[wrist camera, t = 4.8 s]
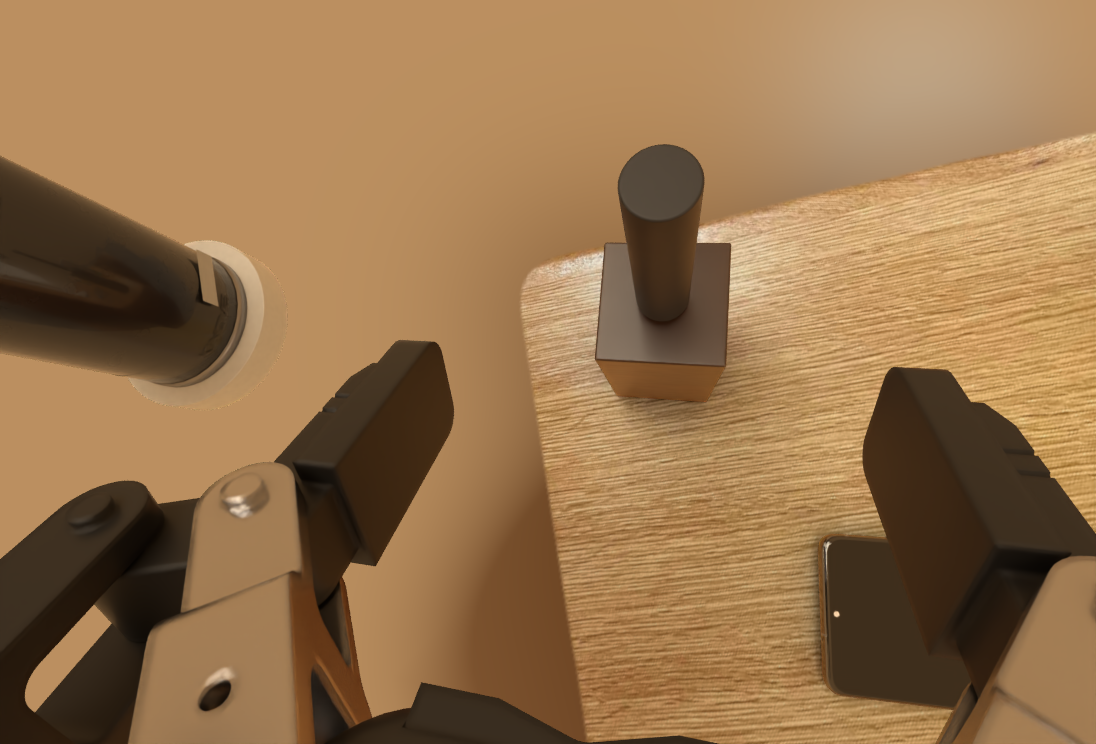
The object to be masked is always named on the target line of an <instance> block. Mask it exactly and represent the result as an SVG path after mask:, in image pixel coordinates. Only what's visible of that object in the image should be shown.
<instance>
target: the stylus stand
mask: <svg viewBox="0 0 1096 744" xmlns="http://www.w3.org/2000/svg"><path fill="white" fill-rule="evenodd" d="M730 262H731V244H730V243H696V251H695V259H694V266H693V274H692V281H691V289H690V297H689V302H688V305H687V307H686V309H685V310H684V311H683V313H682V314H680V315H679V316H678V317H676V318H674V319H672V320H669V321H655V320H652V319H650V318H648V317H646V316H645V315H644V314H643V313H642V312H641V311H640V309H639V307H638V305H637V302H636V296H635V290H634V284H633V278H632V272H631V266H630V260H629V254H628V248H627V243H605V246H604V258H603V270H602V281H601V293H600V305H599V317H598V328H597V340H596V352H595V360H596V362H597V363H598V365H599V367H600V368H601V370H602V372H603V373H604V375H605V377H606V378H607V380H608V382H609V383H610V385H611V387H612V388H613V390H614V392H615V393H616V395H617V396H622V397H637V398H651V399H666V400H681V401H695V402H707V400H708V398H709V396H710V394H711V393H712V391H713V389H714V387H715V385H716V383H717V381H718V380H719V378H720V376H721V374H722V372H723V370H724V369H725V367H726V356H727V332H728V309H729V286H730Z"/></svg>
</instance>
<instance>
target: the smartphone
mask: <svg viewBox="0 0 1096 744" xmlns="http://www.w3.org/2000/svg"><path fill="white" fill-rule="evenodd" d="M818 567H819V596H820V624H821V652H822V674H823V679H824V682H825V684H826V686H827V687H828V688H829V689H830V690H831V691H832V692H834V693H835V694H837V695H840V696H846V697H854V698H862V699H870V700H878V701H886V702H894V703H902V704H910V705H918V706H926V707H934V708H942V709H950V710H954V708H955V706H956V704H957V702H958V700H959V698H960V697H961V695H962V693H963V691H964V690H965V688H966V687H967V685H968V684H969V683H970V681H971V679H970V676H969V674H968V671H967V669H966V666H965V664H964V661H959V660H953V659H946V658H940V657H934V656H928V653H927V650H926V647H925V645H924V642H923V639H922V636H921V633H920V630H919V628H918V625H917V622H916V619H915V616H914V613H913V610H912V608H911V605H910V602H909V599H908V596H907V593H906V590H905V588H904V585H903V582H902V579H901V576H900V573H899V570H898V568H897V565H896V562H895V559H894V556H893V553H892V551H891V548H890V545H889V542H888V539H887V537H871V536H857V535H843V534H829V535H826V536H824V537H823V538H822V539H821V540H820V542H819V545H818Z"/></svg>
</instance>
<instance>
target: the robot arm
mask: <svg viewBox="0 0 1096 744" xmlns="http://www.w3.org/2000/svg"><path fill="white" fill-rule="evenodd" d="M246 317H247V300H246V294H245V290H244V287H243V284H242V282H241V280H240V278H239V277H238V275H237V274H236V273H235V271H234V270H233V269H232V268H231V267H229V266H228V265H227V264H225V263H224V262H222V261H220V260H218V259H216V258H214V257H211V256H209V255H207V254H205V253H203V252H201V251H199V250H197V249H196V250H194V249H192V248H189V247H187V246H185V245H183V244H181V243H179V242H177V241H175V240H174V239H172V238H170V237H167V236H165V235H163V234H161V233H159V232H157V231H155V230H153V229H151V228H149V227H147V226H145V225H143V224H140V223H138V222H136V221H134V220H132V219H130V218H128V217H126V216H124V215H122V214H120V213H118V212H116V211H114V210H111V209H109V208H107V207H105V206H103V205H101V204H99V203H97V202H95V201H93V200H91V199H89V198H87V197H85V196H83V195H80V194H78V193H76V192H74V191H72V190H70V189H68V188H66V187H64V186H62V185H60V184H58V183H55V182H53V181H51V180H49V179H47V178H45V177H43V176H41V175H39V174H37V173H35V172H33V171H31V170H29V169H27V168H25V167H22V166H20V165H18V164H16V163H14V162H12V161H10V160H8V159H6V158H4V157H2V156H0V353H2V354H6V355H12V356H17V357H22V358H28V359H34V360H39V361H44V362H50V363H55V364H60V365H66V366H71V367H76V368H81V369H87V370H92V371H97V372H103V373H108V374H113V375H117V376H123V377H128V378H133V379H139V380H144V381H149V382H152V383H154V384H158V385H163V386H168V387H187V386H191V385H194V384H197V383H200V382H202V381H204V380H206V379H207V378H209V377H210V376H212V375H213V374H215V373H216V372H217V371H218V370H219V369H220V368H221V367H222V366H223V365H224V364H225V363H226V362H227V361H228V360H229V358H230V357H231V356H232V354H233V353H234V351H235V349H236V348H237V346H238V344H239V342H240V339H241V337H242V334H243V331H244V328H245V323H246ZM453 417H454V406H453V401H452V396H451V391H450V387H449V382H448V378H447V373H446V369H445V364H444V360H443V355H442V351H441V349H440V347H439V345H438V344H437V343H436V342H427V341H408V340H399V341H397V342H395V343H394V344H393V345H392V346H391V348H390V349H389V350H388V351H387V352H386V353H385V355H384V356H383V357H382V358H381V359H380V361H379V362H378V363H372V364H370V365H369V366H367V367H366V368H364V369H363V370H361V371H359V372H358V373H356V374H354V375H353V376H351V377H350V378H349V379H348V380H347V381H346V382H345V384H344V385H343V386H342V387H341V388H340V389H339V390H338V391H337V392H336V394H335V398H333V397H332V398H331V399H330V400H329V402H327V404H326V405H325V406H324V407H323V411H322V412H318V414H317V415H316V416H315V417H314V418H313V419H312V421H310V422H309V424H308V425H307V426H306V427H305V428H304V429H303V430H302V431H301V433H300V434H299V435H298V436H297V437H296V438H295V439H294V440H293V441H292V442H291V444H290V445H289V446H288V447H287V448H286V449H285V450H284V451H283V452H282V454H281V455H280V456H279V457H278V458H277V459H276V460H275V461H274V462H263V463H256V464H252V465H248V466H245V467H242V468H240V469H237V470H235V471H233V472H231V473H229V474H228V475H225V476H224V477H222V478H221V479H219V480H218V481H216V482H215V483H214V484H213V485H211V486H210V487H209V488H208V489H207V490H206V491H205V493H203V495H202V496H201V497H200V498H197V499H190V500H183V501H176V502H170V503H162V504H157V502H156V501H155V499H154V498H153V496H152V495H151V494H150V492H149V491H148V489H147V488H146V486H144V485H143V484H142V483H139V482H135V481H119V482H114V483H110V484H106V485H102V486H99V487H97V488H94V489H92V490H89V491H87V492H85V493H83V494H81V495H79V496H78V497H76V498H74V499H73V500H71V501H69V502H68V503H66V504H65V505H63V506H62V507H61V508H60V509H58V510H57V511H56V512H55V513H54V514H52V515H51V516H50V517H49V518H48V519H47V520H45V521H44V522H43V523H42V524H41V525H40V526H38V527H37V528H36V529H35V530H34V531H33V532H31V533H30V534H29V535H28V536H27V537H26V538H24V539H23V540H22V541H21V542H20V543H19V544H18V545H16V546H15V547H14V548H13V549H12V550H10V551H9V552H8V553H7V554H6V555H5V556H3V557H2V558H1V559H0V744H717V743H713V742H708V741H703V740H698V739H693V738H688V737H684V736H667V737H655V738H642V739H630V740H617V741H605V742H592V743H591V742H581V741H577V740H575V739H573V738H571V737H569V736H567V735H565V734H563V733H562V732H560V731H558V730H556V729H554V728H552V727H551V726H549V725H547V724H545V723H543V722H541V721H540V720H538V719H536V718H534V717H532V716H530V715H529V714H527V713H525V712H523V711H521V710H519V709H518V708H516V707H514V706H512V705H510V704H508V703H507V702H505V701H503V700H501V699H499V698H495V697H489V696H485V695H480V694H475V693H470V692H465V691H460V690H456V689H451V688H446V687H441V686H436V685H432V684H427V683H421V685H420V688H419V690H418V692H417V695H416V697H415V700H414V703H413V705H412V707H411V708H406V709H402V710H397V711H393V712H388V713H384V714H382V715H379V716H376V717H374V718H372V716H371V712H370V709H369V706H368V703H367V700H366V697H365V694H364V690H363V687H362V683H361V678H360V673H359V666H358V660H357V654H356V647H355V641H354V635H353V628H352V622H351V616H350V610H349V604H348V597H347V590H346V586H345V582H344V580H343V578H342V576H343V573H344V572H345V571H346V569H347V567H348V566H349V564H350V562H352V563H358V564H365V565H371V566H376V565H377V563H378V561H379V559H380V557H381V556H382V554H383V552H384V550H385V548H386V547H387V544H388V543H389V541H390V539H391V538H392V536H393V534H394V532H395V531H396V529H397V527H398V525H399V523H400V522H401V520H402V518H403V516H404V514H405V513H406V511H407V509H408V507H409V506H410V504H411V502H412V500H413V498H414V496H415V495H416V493H417V491H418V489H419V487H420V486H421V484H422V482H423V480H424V479H425V477H426V475H427V473H428V472H429V470H430V468H431V466H432V464H433V463H434V461H435V459H436V457H437V455H438V453H439V452H440V450H441V448H442V446H443V445H444V443H445V441H446V439H447V438H448V436H449V433H450V431H451V428H452V424H453ZM863 468H864V473H865V476H866V479H867V482H868V485H869V488H870V491H871V494H872V496H873V499H874V502H875V505H876V508H877V511H878V513H879V516H880V519H881V522H882V525H883V528H884V531H885V533H886V536H887V539H888V542H889V545H890V548H891V551H892V553H893V556H894V559H895V562H896V565H897V568H898V570H899V573H900V576H901V579H902V582H903V585H904V588H905V590H906V593H907V596H908V599H909V602H910V605H911V608H912V610H913V613H914V616H915V619H916V622H917V625H918V628H919V630H920V633H921V636H922V639H923V642H924V645H925V647H926V650H927V653H928V656H934V657H940V658H946V659H953V660H959V661H964V664H965V666H966V669H967V671H968V674H969V676H970V679H971V681H970V683H969V684H968V685H967V687H966V688H965V690H964V691H963V693H962V695H961V697H960V698H959V700H958V702H957V704H956V706H955V708H954V710H953V711H952V713H951V715H950V717H949V719H948V721H947V723H946V725H945V726H944V728H943V730H942V732H941V734H940V736H939V738H938V739H937V741H936V743H935V744H1096V534H1095V532H1094V531H1093V529H1092V528H1091V527H1090V525H1089V524H1088V523H1087V521H1086V520H1085V519H1084V517H1083V516H1082V515H1081V513H1080V512H1079V511H1078V509H1077V508H1076V507H1075V505H1074V504H1073V502H1072V501H1071V500H1070V498H1069V497H1068V496H1067V494H1066V493H1065V492H1064V490H1063V489H1062V488H1061V486H1060V485H1059V484H1058V482H1057V481H1056V479H1055V478H1050V471H1049V470H1048V469H1047V467H1046V466H1045V465H1044V463H1043V462H1042V461H1041V459H1040V458H1039V456H1034V450H1033V448H1032V447H1031V446H1030V444H1029V443H1028V442H1027V440H1026V439H1025V438H1024V436H1023V435H1022V433H1021V432H1020V431H1019V429H1018V428H1017V427H1016V425H1014V424H1013V423H1011V422H1010V421H1009V420H1007V419H1006V418H1004V417H1003V416H1002V415H1000V414H999V413H997V412H996V411H995V410H993V409H992V408H990V407H989V406H988V405H986V404H985V403H975V402H970V400H969V399H968V397H967V396H966V394H965V393H964V391H963V390H962V388H961V387H960V385H959V384H958V382H957V381H956V379H955V378H954V376H953V375H952V374H951V372H949V371H948V370H942V369H923V368H904V367H893V368H891V369H890V370H889V371H888V373H887V374H886V376H885V379H884V381H883V384H882V387H881V390H880V393H879V396H878V399H877V402H876V406H875V409H874V412H873V415H872V418H871V421H870V424H869V427H868V430H867V433H866V436H865V439H864V444H863ZM93 605H95V606H96V607H97V608H98V609H99V610H100V611H101V612H102V613H103V614H104V615H105V616H106V617H107V618H108V620H109V621H110V622H111V623H112V624H111V625H110V626H109V628H108V629H107V630H106V631H105V632H104V633H103V634H102V636H101V637H100V638H99V639H98V640H97V641H96V643H95V644H94V645H93V646H92V647H91V648H90V649H89V651H88V652H87V653H86V654H85V655H84V656H83V658H82V659H81V660H80V661H79V662H78V663H77V664H76V666H75V667H74V668H73V669H72V670H71V671H70V673H69V674H68V675H67V676H66V677H65V678H64V680H63V681H62V682H61V683H60V684H59V685H58V687H57V688H56V689H55V690H54V691H53V692H52V693H51V695H50V696H49V697H48V698H47V699H46V700H45V701H44V703H43V704H42V705H41V706H40V707H39V708H38V710H37V711H36V712H33V711H32V710H31V709H30V708H29V707H28V706H27V704H26V702H25V689H26V685H27V683H28V680H29V678H30V676H31V674H32V673H33V671H34V670H35V668H36V667H37V666H38V665H39V663H40V662H41V661H42V660H43V659H44V658H45V657H46V656H47V655H48V654H49V653H50V651H51V650H52V649H53V648H54V647H55V646H56V645H57V644H58V643H59V642H60V641H61V640H62V638H63V637H64V636H65V635H66V634H67V633H68V632H69V631H70V630H71V628H73V627H74V625H75V624H76V623H77V622H78V621H79V620H80V619H81V618H82V617H83V616H84V615H85V614H86V612H87V611H88V610H89V609H90V608H91V607H92V606H93Z"/></svg>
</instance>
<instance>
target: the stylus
mask: <svg viewBox="0 0 1096 744" xmlns="http://www.w3.org/2000/svg"><path fill="white" fill-rule="evenodd" d="M703 189H704V173H703V170H702V167H701V165H700V163H699V162H698V160H697V159H696V158H695V157H694V156H693V155H692V154H691V153H690V152H688V151H687V150H685V149H683V148H680V147H678V146H674V145H667V144H663V145H655V146H651V147H648V148H646V149H643V150H641V151H639V152H638V153H636V154H635V155H634V156H633V157H632V158H630V160H629V161H628V162H627V163H626V165H625V166H624V168H623V169H622V171H621V174H620V177H619V180H618V194H619V200H620V206H621V212H622V218H623V224H624V230H625V236H626V242H627V248H628V254H629V260H630V266H631V272H632V278H633V284H634V290H635V296H636V302H637V305H638V307H639V309H640V311H641V312H642V313H643V314H644V315H645V316H646V317H648V318H650V319H652V320H655V321H669V320H672V319H674V318H676V317H678V316H679V315H680V314H682V313H683V311H684V310H685V309H686V307H687V305H688V302H689V297H690V289H691V281H692V274H693V266H694V259H695V251H696V243H697V236H698V228H699V220H700V212H701V204H702V197H703Z"/></svg>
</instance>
